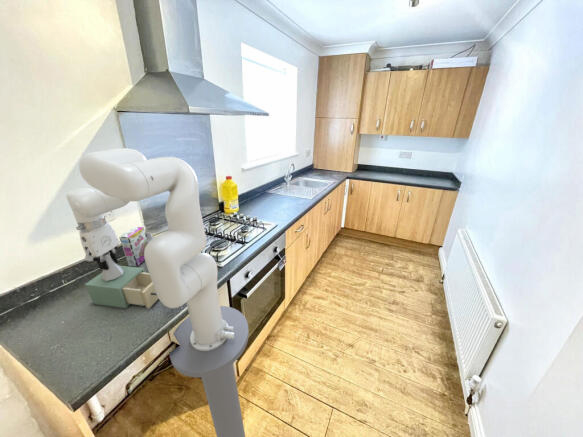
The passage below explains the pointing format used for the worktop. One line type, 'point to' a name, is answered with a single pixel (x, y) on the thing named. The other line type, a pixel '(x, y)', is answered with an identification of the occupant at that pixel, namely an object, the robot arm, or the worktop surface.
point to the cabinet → (112, 288)
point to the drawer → (140, 291)
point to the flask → (111, 268)
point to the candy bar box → (134, 246)
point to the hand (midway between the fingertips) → (109, 265)
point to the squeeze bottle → (148, 239)
